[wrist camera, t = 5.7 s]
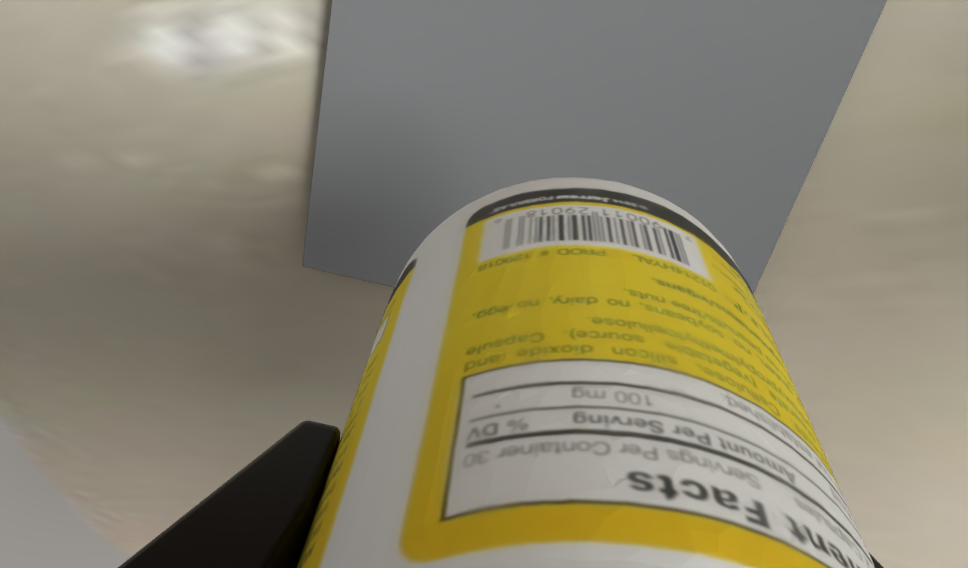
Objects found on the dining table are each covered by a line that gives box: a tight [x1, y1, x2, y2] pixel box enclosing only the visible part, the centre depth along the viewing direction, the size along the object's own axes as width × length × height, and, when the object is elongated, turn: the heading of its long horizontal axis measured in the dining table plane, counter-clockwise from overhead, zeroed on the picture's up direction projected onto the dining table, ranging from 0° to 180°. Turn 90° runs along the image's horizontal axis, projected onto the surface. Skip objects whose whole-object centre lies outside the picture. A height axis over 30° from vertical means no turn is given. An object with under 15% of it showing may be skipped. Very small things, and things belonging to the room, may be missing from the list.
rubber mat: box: [302, 0, 887, 293], centre depth 20 cm, size 12×10×1 cm
